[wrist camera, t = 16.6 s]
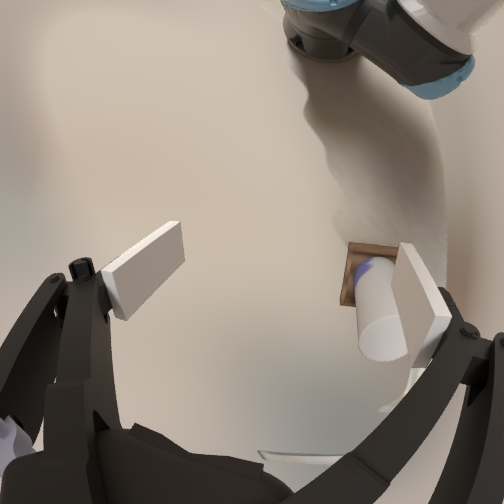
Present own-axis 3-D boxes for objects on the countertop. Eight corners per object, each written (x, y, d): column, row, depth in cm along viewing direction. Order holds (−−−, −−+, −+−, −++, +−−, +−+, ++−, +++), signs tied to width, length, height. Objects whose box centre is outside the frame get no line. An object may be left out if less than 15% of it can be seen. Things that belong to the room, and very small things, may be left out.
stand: (349, 242, 54) (349, 247, 52) (411, 249, 50) (414, 254, 48) (339, 298, 60) (339, 305, 58) (396, 304, 57) (398, 310, 54)
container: (397, 292, 55) (415, 357, 37) (355, 299, 58) (359, 366, 41) (396, 252, 51) (420, 311, 34) (350, 260, 54) (356, 321, 37)
